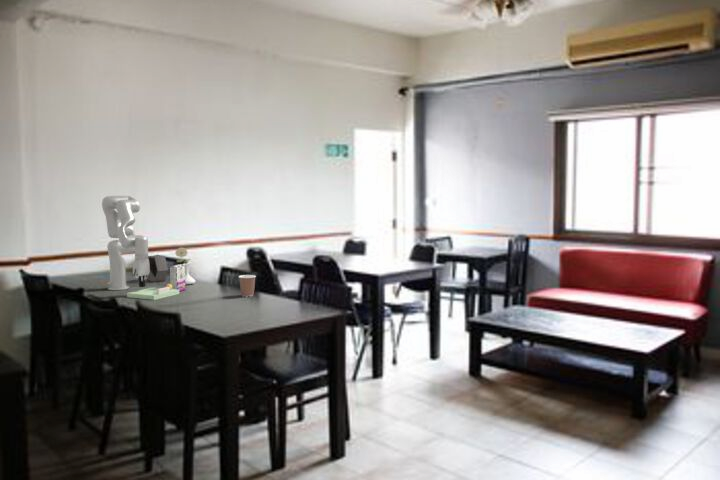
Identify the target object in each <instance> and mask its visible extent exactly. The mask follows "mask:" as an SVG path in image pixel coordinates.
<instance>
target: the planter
mask: <svg viewBox="0 0 720 480" xmlns="http://www.w3.org/2000/svg"><path fill="white" fill-rule="evenodd" d="M148 259H149V265H150V273H149V276H147V277H146V279H147V281H148V280H150V281H149V282H152V281H153V283H156V282H157V283H159V281H160V282H165V281H166V279H167V274H168V272H169V268H168V263H167V259H166V256H164V255H149V256H148Z"/></svg>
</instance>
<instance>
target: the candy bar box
mask: <svg viewBox="0 0 720 480" xmlns="http://www.w3.org/2000/svg"><path fill="white" fill-rule="evenodd" d="M169 280H170V283H169V284H171V285H172V287H173V288H172V289H176V290H179V293H181V292H183V291H186V289H187V288H186V286H187V284H185V265H183V264H175V265H172V266H169Z"/></svg>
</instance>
